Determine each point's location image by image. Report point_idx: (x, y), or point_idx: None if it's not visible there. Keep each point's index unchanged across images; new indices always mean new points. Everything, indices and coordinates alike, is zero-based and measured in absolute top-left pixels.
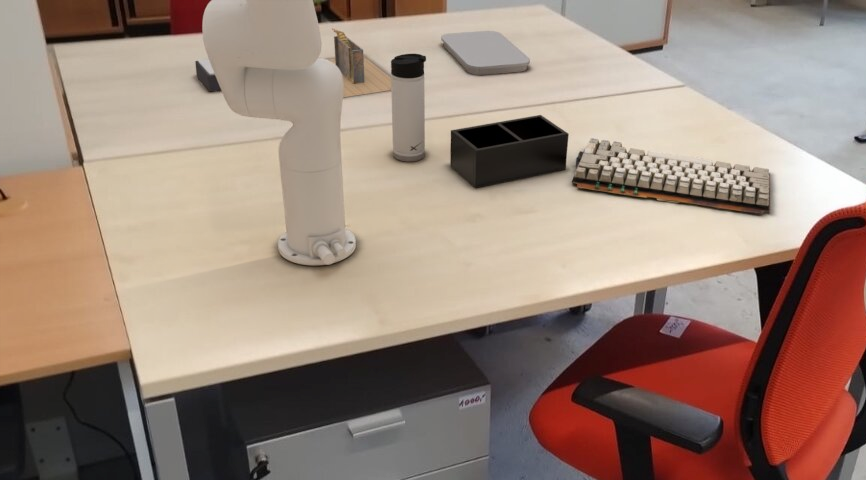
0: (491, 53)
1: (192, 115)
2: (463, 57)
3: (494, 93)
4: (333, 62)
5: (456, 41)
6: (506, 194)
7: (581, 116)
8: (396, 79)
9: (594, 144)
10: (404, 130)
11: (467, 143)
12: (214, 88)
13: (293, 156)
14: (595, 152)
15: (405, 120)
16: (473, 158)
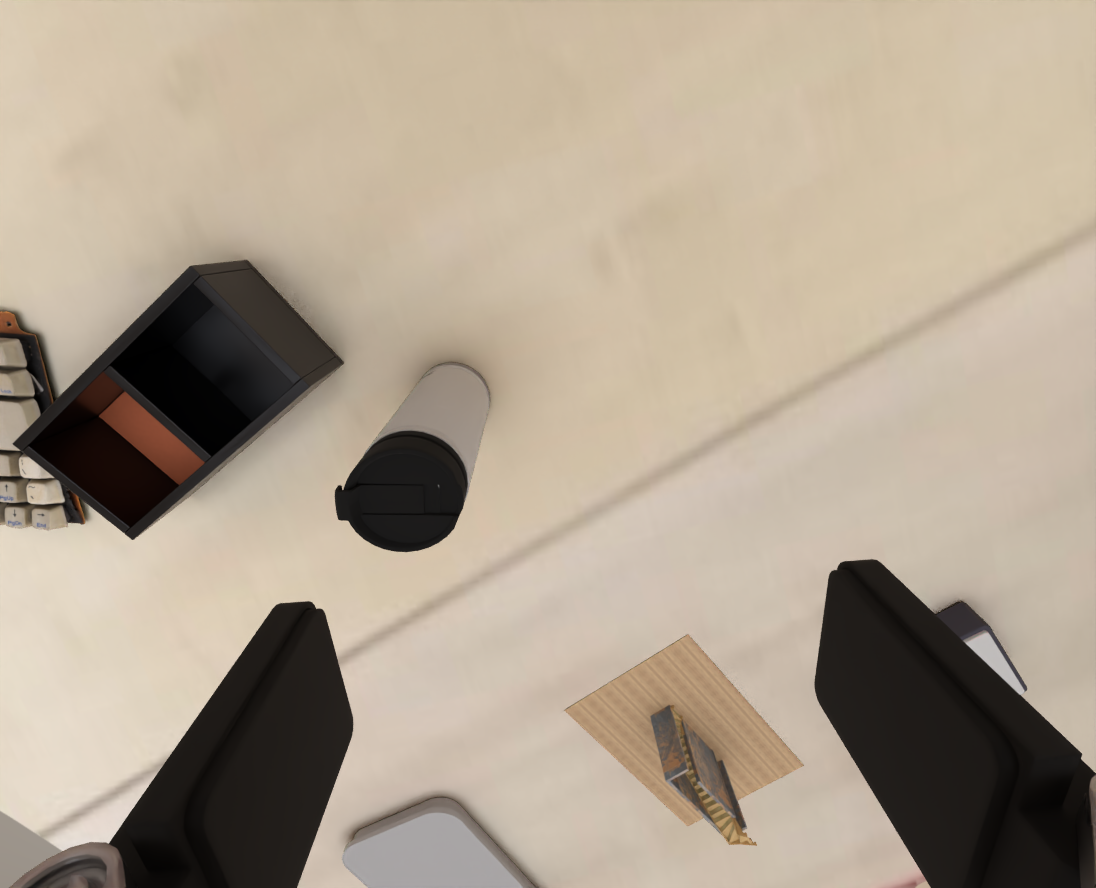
0: (427, 871)
1: (981, 481)
2: (475, 843)
3: (377, 729)
4: (734, 784)
5: None
6: (164, 245)
7: (168, 672)
8: (438, 434)
9: (28, 499)
10: (439, 381)
11: (233, 310)
12: (956, 609)
13: None
14: (30, 480)
15: (431, 389)
16: (218, 275)
